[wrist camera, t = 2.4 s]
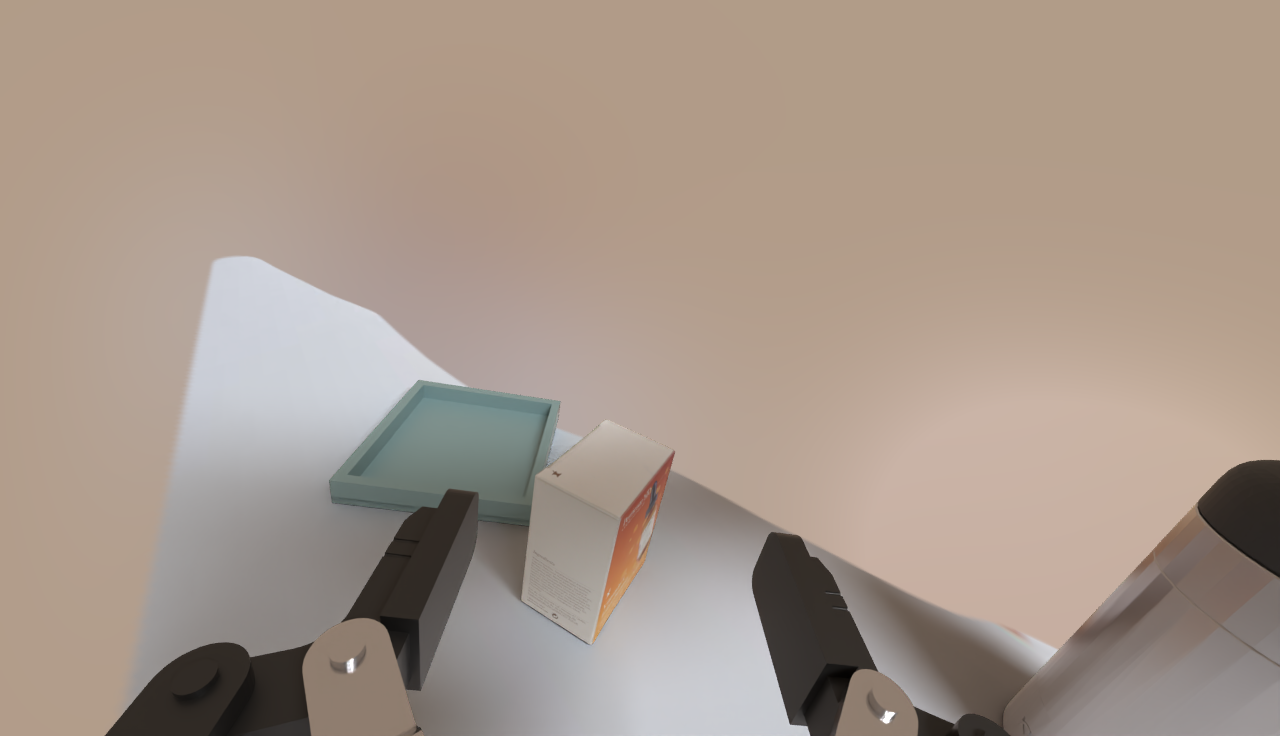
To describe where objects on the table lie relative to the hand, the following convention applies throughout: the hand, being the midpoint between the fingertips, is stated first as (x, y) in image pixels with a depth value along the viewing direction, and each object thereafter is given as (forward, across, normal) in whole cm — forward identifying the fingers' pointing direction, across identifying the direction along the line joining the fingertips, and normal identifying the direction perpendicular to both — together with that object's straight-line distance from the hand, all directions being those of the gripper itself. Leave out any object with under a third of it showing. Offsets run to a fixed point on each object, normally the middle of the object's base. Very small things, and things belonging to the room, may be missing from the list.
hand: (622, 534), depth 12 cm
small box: (+13, 0, +18) cm, 22 cm away
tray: (+25, +12, +18) cm, 33 cm away
